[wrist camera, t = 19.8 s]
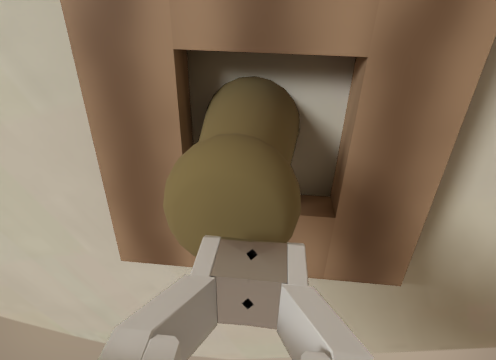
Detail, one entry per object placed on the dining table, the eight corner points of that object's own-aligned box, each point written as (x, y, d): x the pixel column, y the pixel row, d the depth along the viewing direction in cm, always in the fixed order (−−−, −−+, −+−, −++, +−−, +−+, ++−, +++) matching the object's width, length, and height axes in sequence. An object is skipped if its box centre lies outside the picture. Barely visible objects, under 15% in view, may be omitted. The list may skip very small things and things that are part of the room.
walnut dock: (495, -71, 14) (541, -87, 12) (388, 255, 24) (400, 286, 22) (78, -76, 16) (38, -91, 13) (137, 234, 26) (121, 260, 23)
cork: (290, 61, 18) (298, 127, 9) (307, 154, 21) (329, 283, 11) (193, 86, 19) (106, 168, 10) (221, 171, 22) (175, 300, 13)
